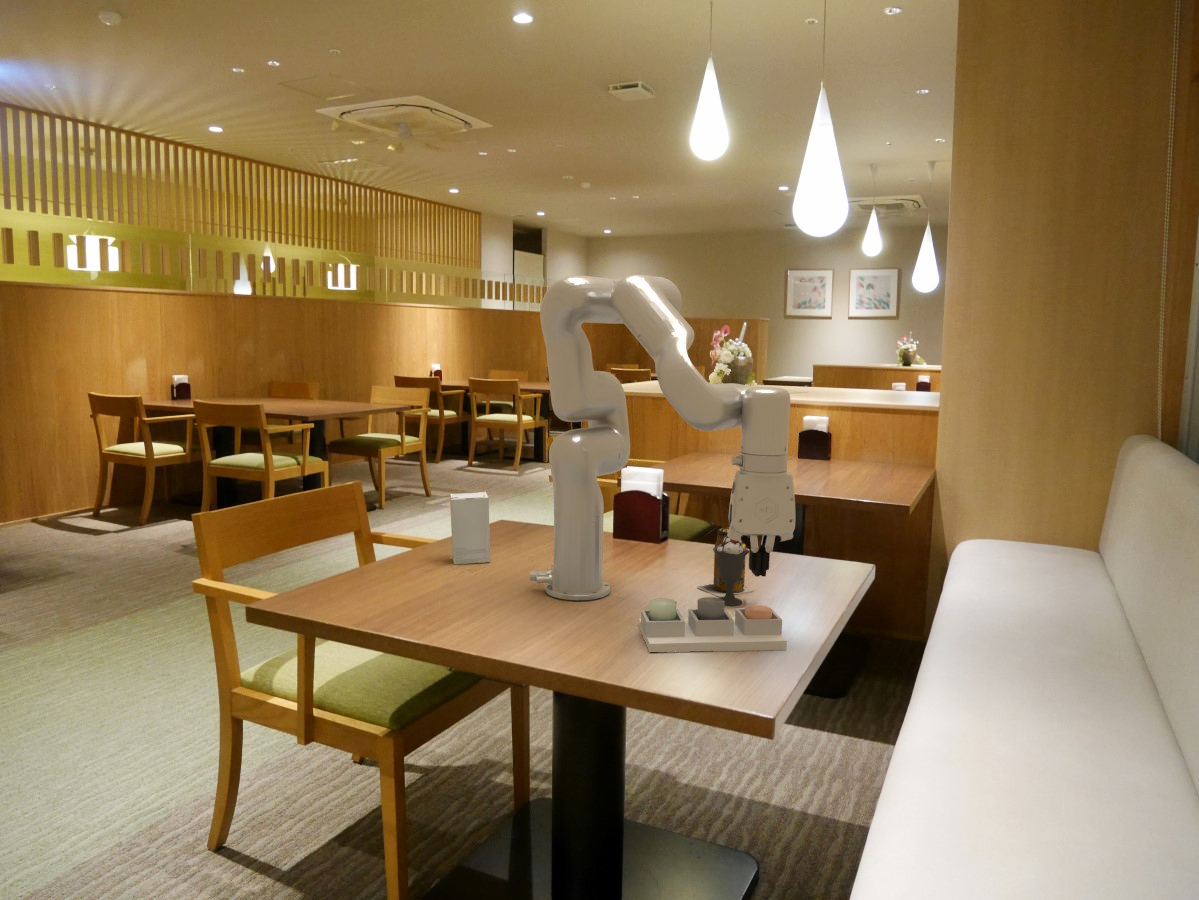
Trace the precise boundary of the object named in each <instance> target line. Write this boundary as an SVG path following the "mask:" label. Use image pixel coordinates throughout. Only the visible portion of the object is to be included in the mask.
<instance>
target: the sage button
mask: <svg viewBox="0 0 1199 900" xmlns="http://www.w3.org/2000/svg"><path fill="white" fill-rule="evenodd" d="M648 604H649V605H648V607H649V608H648V610H649V620H650V621H676V609H677V601H676V600H675V599H672V598H669V597H668V598H667V597H655V598H652V599H650V600H649V603H648Z"/></svg>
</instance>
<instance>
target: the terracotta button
mask: <svg viewBox="0 0 1199 900" xmlns="http://www.w3.org/2000/svg"><path fill="white" fill-rule="evenodd" d="M744 608H745V617H746V619H772V609H773V608H772V607H769V606H766V605H761V604H753V605H752V604H751V605H747V606H745V607H744ZM771 608H772V609H771Z"/></svg>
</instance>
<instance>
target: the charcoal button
mask: <svg viewBox="0 0 1199 900" xmlns="http://www.w3.org/2000/svg"><path fill="white" fill-rule="evenodd" d="M719 598H720V597H713V596H712V597H711V596H705V597H700V598H698V599H697V608H696V609H697V619H698V620H724V609H726V608H725V601H724V600H722V599H719Z"/></svg>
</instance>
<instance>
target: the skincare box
mask: <svg viewBox="0 0 1199 900" xmlns="http://www.w3.org/2000/svg"><path fill="white" fill-rule="evenodd" d="M449 502H450V504H449V505H450V528H451V529H450V530H451V550H452V560H453V565H454V566H455V565H465V564H467V565H468V564H479V563H480V564H481V563H490V562H491V561H492V560H491V540H490V539H491V532H490V531H491V530H490V498H489V494H487V491H478V492H464V493H450V495H449Z"/></svg>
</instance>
